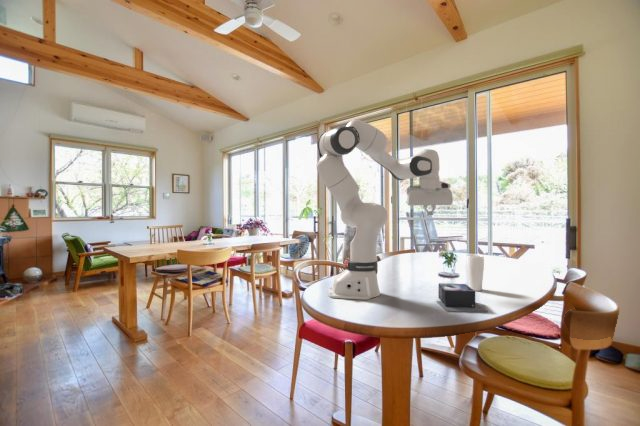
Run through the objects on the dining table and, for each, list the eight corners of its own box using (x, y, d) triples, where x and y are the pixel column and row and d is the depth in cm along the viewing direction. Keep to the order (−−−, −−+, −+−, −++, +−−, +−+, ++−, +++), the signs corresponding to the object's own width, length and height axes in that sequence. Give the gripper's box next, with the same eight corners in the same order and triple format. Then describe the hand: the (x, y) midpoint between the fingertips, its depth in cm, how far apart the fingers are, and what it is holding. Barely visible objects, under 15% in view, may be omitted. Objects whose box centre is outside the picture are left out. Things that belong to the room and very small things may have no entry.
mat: (447, 312, 107) (447, 310, 107) (436, 302, 118) (436, 301, 118) (488, 312, 106) (488, 310, 106) (473, 302, 117) (473, 301, 117)
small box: (466, 282, 119) (476, 290, 109) (466, 299, 119) (476, 308, 109) (438, 282, 121) (445, 289, 110) (438, 298, 121) (445, 307, 111)
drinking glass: (483, 292, 130) (483, 257, 130) (465, 290, 134) (465, 256, 133) (484, 288, 136) (484, 255, 136) (467, 287, 139) (467, 254, 139)
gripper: (408, 185, 138) (408, 215, 138) (454, 184, 137) (454, 215, 137) (405, 186, 144) (405, 215, 144) (448, 185, 143) (448, 214, 144)
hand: (429, 215), depth 141 cm, fingers closed
